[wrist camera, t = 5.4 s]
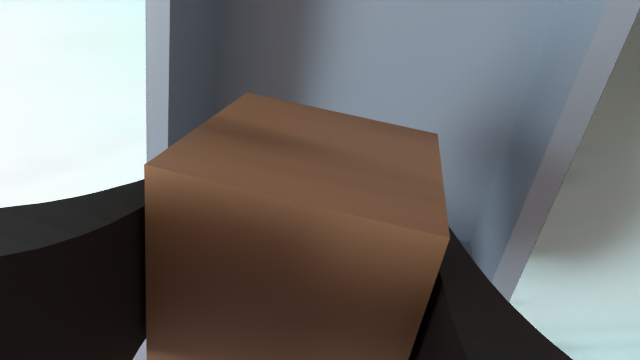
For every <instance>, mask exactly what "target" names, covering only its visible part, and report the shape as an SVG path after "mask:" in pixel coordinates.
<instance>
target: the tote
mask: <svg viewBox="0 0 640 360" xmlns="http://www.w3.org/2000/svg"><path fill="white" fill-rule="evenodd" d="M639 9H640V0H146V123H147V162H149V161H150V160H152V159H153V158H155V157H156V156H157V155H159V154H160V153H162V152H163V151H165V150H166V149H167V148H169V147H170V146H172V145H173V144H174V143H176V142H177V141H179V140H180V139H182V138H183V137H184V136H186V135H187V134H189V133H190V132H192V131H193V130H194V129H196V128H197V127H199V126H200V125H202V124H203V123H204V122H206V121H207V120H209V119H210V118H211V117H213V116H214V115H216V114H217V113H219V112H220V111H221V110H223V109H224V108H226V107H227V106H229V105H230V104H231V103H233V102H234V101H236V100H237V99H239V98H240V97H241V96H243V95H244V94H246V93H247V92H248V93H252V94H257V95H262V96H266V97H271V98H275V99H280V100H285V101H289V102H294V103H298V104H303V105H308V106H312V107H317V108H321V109H326V110H331V111H335V112H340V113H344V114H349V115H354V116H358V117H363V118H367V119H372V120H377V121H381V122H386V123H391V124H395V125H400V126H404V127H409V128H414V129H418V130H423V131H427V132H432V133H437V134H438V141H439V150H440V158H441V167H442V175H443V184H444V192H445V201H446V209H447V218H448V226H449V227H450V228H451V230H452V231H453V233H454V234H455V235H456V237H457V238H458V240H459V241H460V242H461V244H462V245H463V247H464V248H465V250H466V251H467V252H468V254H469V255H470V256H471V258H472V259H473V260H474V262H475V263H476V264H477V266H478V267H479V268H480V269H481V271H482V272H483V273H484V274H485V276H486V277H487V278H488V279H489V280H490V282H491V283H492V284H493V285H494V286H495V287H496V288H497V290H498V291H499V292H500V293H501V294H502V295H503V296H504V298H505V299H506V300H507V301H508V302H509V301H510V298H511V296H512V294H513V292H514V290H515V287H516V285H517V283H518V281H519V278H520V276H521V274H522V272H523V269H524V267H525V265H526V263H527V260H528V258H529V256H530V254H531V251H532V249H533V247H534V245H535V242H536V240H537V238H538V236H539V233H540V231H541V229H542V227H543V225H544V222H545V220H546V218H547V216H548V213H549V211H550V209H551V207H552V204H553V202H554V200H555V198H556V195H557V193H558V191H559V189H560V186H561V184H562V182H563V180H564V177H565V175H566V173H567V171H568V168H569V166H570V164H571V162H572V160H573V157H574V155H575V153H576V151H577V148H578V146H579V144H580V142H581V139H582V137H583V135H584V133H585V130H586V128H587V126H588V124H589V121H590V119H591V117H592V115H593V112H594V110H595V108H596V106H597V103H598V101H599V99H600V97H601V95H602V92H603V90H604V88H605V86H606V83H607V81H608V79H609V77H610V74H611V72H612V70H613V68H614V65H615V63H616V61H617V59H618V56H619V54H620V52H621V50H622V47H623V45H624V43H625V41H626V38H627V36H628V34H629V32H630V30H631V27H632V25H633V23H634V21H635V18H636V16H637V14H638V12H639Z"/></svg>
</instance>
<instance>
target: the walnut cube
mask: <svg viewBox="0 0 640 360" xmlns="http://www.w3.org/2000/svg"><path fill="white" fill-rule="evenodd" d="M144 174H145V263H146V353H147V360H408V359H409V356H410V353H411V350H412V347H413V344H414V341H415V338H416V336H417V333H418V330H419V327H420V324H421V321H422V318H423V315H424V312H425V309H426V306H427V304H428V301H429V298H430V295H431V292H432V289H433V286H434V283H435V280H436V277H437V274H438V272H439V269H440V266H441V263H442V260H443V257H444V254H445V251H446V248H447V245H448V242H449V239H450V234H449V226H448V218H447V209H446V201H445V192H444V184H443V175H442V167H441V158H440V150H439V141H438V134H437V133H432V132H427V131H423V130H418V129H414V128H409V127H404V126H400V125H395V124H391V123H386V122H381V121H377V120H372V119H367V118H363V117H358V116H354V115H349V114H344V113H340V112H335V111H331V110H326V109H321V108H317V107H312V106H308V105H303V104H298V103H294V102H289V101H285V100H280V99H275V98H271V97H266V96H262V95H257V94H252V93H248V92H247V93H246V94H244V95H243V96H241V97H240V98H239V99H237V100H236V101H234V102H233V103H231V104H230V105H229V106H227V107H226V108H224V109H223V110H221V111H220V112H219V113H217V114H216V115H214V116H213V117H211V118H210V119H209V120H207V121H206V122H204V123H203V124H202V125H200V126H199V127H197V128H196V129H194V130H193V131H192V132H190V133H189V134H187V135H186V136H184V137H183V138H182V139H180V140H179V141H177V142H176V143H174V144H173V145H172V146H170V147H169V148H167V149H166V150H165V151H163V152H162V153H160V154H159V155H157V156H156V157H155V158H153V159H152V160H150V161H149V162H147V163H146V164H145V165H144Z"/></svg>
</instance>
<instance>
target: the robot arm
mask: <svg viewBox="0 0 640 360" xmlns="http://www.w3.org/2000/svg"><path fill="white" fill-rule="evenodd" d="M449 234H450V239H449V242H448V245H447V248H446V251H445V254H444V257H443V260H442V263H441V266H440V269H439V272H438V274H437V277H436V280H435V283H434V286H433V289H432V292H431V295H430V298H429V301H428V304H427V306H426V309H425V312H424V315H423V318H422V321H421V324H420V327H419V330H418V333H417V336H416V338H415V341H414V344H413V347H412V350H411V353H410V356H409V359H408V360H572V359H571V358H570V357H569V356H568V355H566V354H565V353H564V352H563V351H561V350H560V349H559V348H558V347H556V346H555V345H554V344H553V343H552V342H550V341H549V340H548V339H547V338H546V337H545V336H543V335H542V334H541V333H540V332H539V331H538V330H537V329H536V328H535V327H534V326H533V325H531V324H530V323H529V322H528V321H527V320H526V319H525V318H524V317H523V316H522V315H521V314H520V313H519V312H518V311H517V310H516V309H515V308H514V307H513V306H512V305H511V304H510V303H509V302H508V301H507V300H506V299H505V298H504V296H503V295H502V294H501V293H500V292H499V291H498V290H497V288H496V287H495V286H494V285H493V284H492V283H491V282H490V280H489V279H488V278H487V277H486V276H485V274H484V273H483V272H482V271H481V269H480V268H479V267H478V266H477V264H476V263H475V262H474V260H473V259H472V258H471V256H470V255H469V254H468V252H467V251H466V250H465V248H464V247H463V245H462V244H461V242H460V241H459V240H458V238H457V237H456V235H455V234H454V233H453V231H452V230H451V228H450V227H449ZM0 360H147V353H146V263H145V179H143V180H140V181H137V182H134V183H130V184H126V185H122V186H119V187H115V188H111V189H108V190H104V191H100V192H96V193H92V194H88V195H83V196H78V197H74V198H68V199H63V200H57V201H52V202H46V203H39V204H30V205H22V206H14V207H5V208H0Z"/></svg>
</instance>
